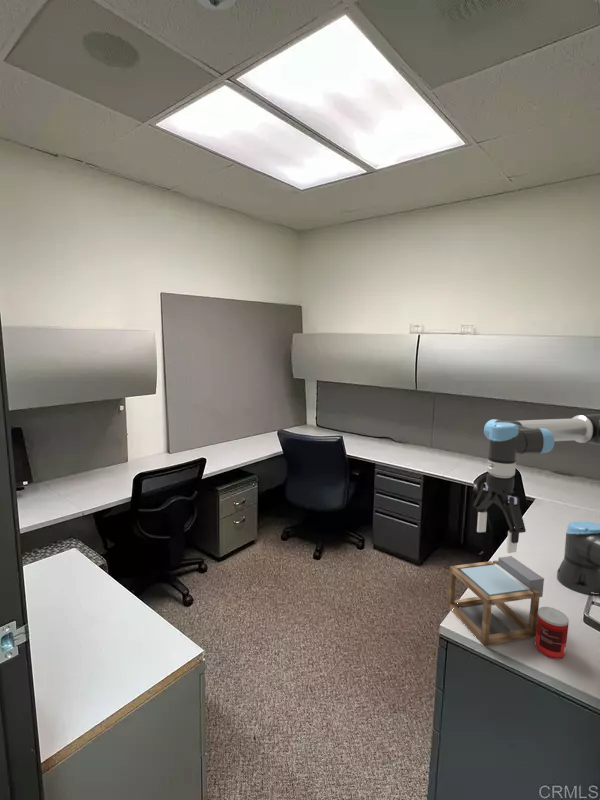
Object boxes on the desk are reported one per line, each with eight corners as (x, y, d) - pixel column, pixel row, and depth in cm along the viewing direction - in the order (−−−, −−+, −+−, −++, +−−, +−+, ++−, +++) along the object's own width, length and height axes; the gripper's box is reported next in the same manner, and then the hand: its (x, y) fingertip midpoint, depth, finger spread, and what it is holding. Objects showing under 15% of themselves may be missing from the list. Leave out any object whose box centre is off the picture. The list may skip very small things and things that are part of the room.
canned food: (553, 639, 126) (557, 606, 124) (571, 659, 118) (575, 624, 116) (528, 640, 125) (531, 606, 124) (545, 660, 118) (548, 624, 116)
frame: (493, 599, 145) (496, 560, 143) (535, 636, 127) (539, 592, 125) (447, 606, 141) (449, 566, 139) (483, 645, 123) (487, 600, 121)
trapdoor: (509, 572, 143) (510, 555, 142) (543, 597, 128) (544, 579, 128) (459, 578, 138) (460, 561, 137) (488, 605, 124) (490, 586, 123)
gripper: (464, 463, 137) (460, 525, 139) (520, 489, 113) (514, 563, 115) (484, 462, 138) (480, 523, 141) (543, 487, 114) (537, 560, 117)
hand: (495, 541), depth 128 cm, fingers open, 13 cm apart
